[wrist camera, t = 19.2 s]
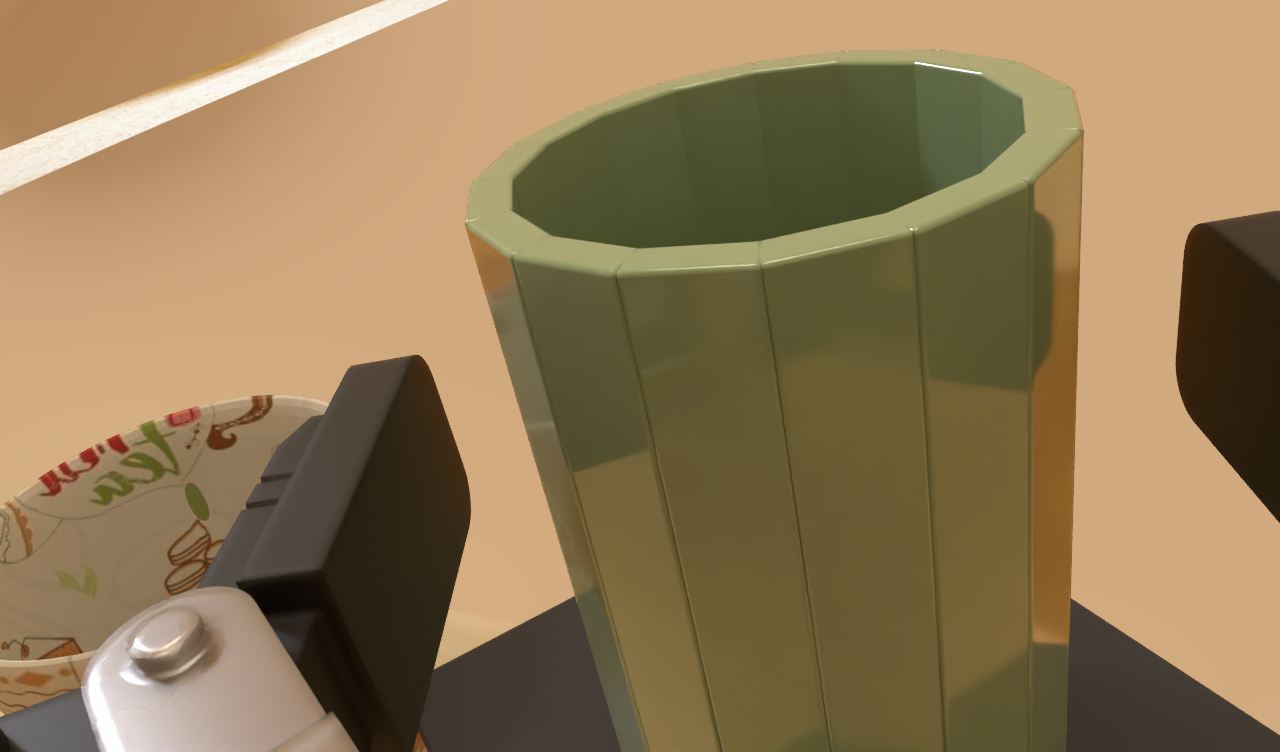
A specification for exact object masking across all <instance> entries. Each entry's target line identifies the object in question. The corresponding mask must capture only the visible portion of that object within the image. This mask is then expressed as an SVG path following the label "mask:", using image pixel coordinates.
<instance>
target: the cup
mask: <svg viewBox="0 0 1280 752" xmlns="http://www.w3.org/2000/svg"><path fill="white" fill-rule="evenodd" d="M1083 135H1084V130H1083V126H1082V122H1081V117H1080V113H1079V109H1078V104H1077V99H1076V95H1075V92H1074V90H1073V89H1071V88H1070V87H1069V86H1067V85H1065V84H1063V83H1061V82H1059V81H1057V80H1055V79H1053V78H1051V77H1049V76H1047V75H1045V74H1043V73H1041V72H1039V71H1037V70H1035V69H1033V68H1031V67H1029V66H1027V65H1025V64H1023V63H1020V62H1016V61H1011V60H1005V59H998V58H991V57H984V56H978V55H970V54H964V53H957V52H950V51H943V50H939V51H937V50H857V51H856V50H855V51H854V50H853V51H852V50H851V51H849V52H845V51H839V52H831V53H824V54H815V55H806V56H798V57H790V58H781V59H773V60H765V61H757V62H755V63H754V64H753V63H746V64H742V65H737V66H733V67H728V68H724V69H719V70H715V71H710V72H706V73H701V74H697V75H692V76H688V77H683V78H679V79H674V80H670V81H666V82H665V83H658V84H656V85H652V86H650V87H647V88H644V89H641V90H638V91H635V92H632V93H629V94H626V95H623V96H620V97H617V98H614V99H611V100H608V101H605V102H602V103H599V104H596V105H593V106H590V107H587V108H585V109H583V110H582V111H577V112H575V113H573V114H571V115H569V116H567V117H565V118H563V119H561V120H559V121H558V122H555V123H553V124H552V125H550V126H548V127H546V128H544V129H542V130H540V131H538V132H536V133H534V134H532V135H531V136H528V137H526V138H524V139H522V140H521V141H518V142H516V143H515V144H514V145H513V146H511V147H510V148H509V149H508V150H506V151H505V152H504V153H503V154H502V155H501V156H500V157H499V158H498V159H497V160H496V161H495V162H493V163H492V164H491V165H490V166H489V167H488V168H487V169H486V170H485V171H484V172H482V173H481V174H480V175H479V176H478V177H477V178H476V179H475V180H474V181H473V182H472V184H471V185H470V190H469V198H468V206H467V215H466V223H465V226H466V229H467V233H468V237H469V240H470V243H471V247H472V250H473V253H474V257H475V260H476V263H477V267H478V270H479V274H480V277H481V280H482V284H483V287H484V290H485V294H486V297H487V301H488V304H489V307H490V310H491V314H492V317H493V321H494V324H495V328H496V331H497V334H498V338H499V341H500V344H501V348H502V351H503V354H504V358H505V361H506V365H507V368H508V371H509V375H510V378H511V381H512V385H513V388H514V391H515V395H516V398H517V402H518V405H519V408H520V412H521V415H522V418H523V422H524V425H525V429H526V432H527V435H528V439H529V442H530V445H531V449H532V452H533V456H534V459H535V462H536V466H537V469H538V472H539V476H540V479H541V482H542V486H543V489H544V493H545V496H546V499H547V503H548V506H549V510H550V513H551V516H552V520H553V523H554V526H555V530H556V533H557V537H558V540H559V543H560V546H561V550H562V553H563V556H564V560H565V563H566V567H567V570H568V574H569V577H570V580H571V584H572V587H573V590H574V594H575V597H576V601H577V604H578V607H579V611H580V614H581V617H582V621H583V624H584V628H585V631H586V634H587V638H588V641H589V644H590V648H591V651H592V654H593V658H594V661H595V665H596V668H597V671H598V675H599V678H600V681H601V685H602V688H603V692H604V695H605V698H606V702H607V705H608V708H609V712H610V715H611V719H612V722H613V725H614V729H615V732H616V735H617V739H618V742H619V745H620V749H621V752H1066V745H1067V709H1068V674H1069V638H1070V602H1071V563H1072V529H1073V494H1074V491H1073V490H1074V458H1075V423H1076V422H1075V421H1076V387H1077V386H1076V385H1077V351H1078V348H1077V347H1078V315H1079V313H1078V312H1079V279H1080V242H1081V241H1080V240H1081V206H1082V170H1083Z"/></svg>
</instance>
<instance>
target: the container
mask: <svg viewBox="0 0 1280 752" xmlns="http://www.w3.org/2000/svg"><path fill="white" fill-rule="evenodd" d="M418 732H419V734H420V736H421V738H422V741H423V743H424V745H425V747H426V749H427V751H428V752H621V749H620V745H619V742H618V739H617V735H616V732H615V729H614V725H613V722H612V719H611V715H610V712H609V708H608V705H607V702H606V698H605V695H604V692H603V688H602V685H601V681H600V678H599V675H598V671H597V668H596V665H595V661H594V658H593V654H592V651H591V648H590V644H589V641H588V638H587V634H586V631H585V628H584V624H583V621H582V617H581V614H580V611H579V607H578V604H577V601H576V597H575V596H574V597H572V598H570V599H568V600H567V601H564V602H563V603H561V604H559V605H557V606H555V607H553V608H551V609H549V610H547V611H545V612H543V613H542V614H540V615H538V616H536V617H534V618H532V619H530V620H528V621H526V622H524V623H522V624H520V625H519V626H517V627H515V628H513V629H511V630H509V631H507V632H505V633H503V634H501V635H499V636H497V637H496V638H494V639H492V640H490V641H488V642H486V643H484V644H482V645H480V646H478V647H476V648H474V649H473V650H471V651H469V652H467V653H465V654H463V655H461V656H459V657H457V658H455V659H453V660H452V661H450V662H448V663H446V664H444V665H442V666H440V667H438V668H436V669H434V670H433V673H432V677H431V681H430V685H429V689H428V693H427V697H426V701H425V705H424V709H423V713H422V717H421V721H420V725H419V729H418ZM1066 752H1280V735H1278V734H1277V733H1275V732H1274V731H1272V730H1271V729H1269V728H1268V727H1266V726H1265V725H1263V724H1262V723H1260V722H1259V721H1257V720H1256V719H1254V718H1252V717H1251V716H1249V715H1248V714H1246V713H1245V712H1243V711H1242V710H1240V709H1239V708H1237V707H1236V706H1234V705H1233V704H1231V703H1230V702H1228V701H1227V700H1225V699H1224V698H1222V697H1220V696H1219V695H1217V694H1216V693H1214V692H1213V691H1211V690H1210V689H1208V688H1207V687H1205V686H1204V685H1202V684H1200V683H1199V682H1198V681H1196V680H1195V679H1193V678H1192V677H1190V676H1188V675H1187V674H1185V673H1184V672H1182V671H1181V670H1179V669H1178V668H1176V667H1175V666H1173V665H1172V664H1170V663H1168V662H1167V661H1166V660H1164V659H1163V658H1161V657H1160V656H1158V655H1156V654H1155V653H1153V652H1152V651H1150V650H1149V649H1147V648H1146V647H1144V646H1143V645H1141V644H1140V643H1138V642H1137V641H1135V640H1134V639H1132V638H1131V637H1129V636H1128V635H1126V634H1124V633H1123V632H1121V631H1120V630H1118V629H1117V628H1115V627H1114V626H1112V625H1111V624H1109V623H1108V622H1106V621H1105V620H1103V619H1102V618H1100V617H1099V616H1097V615H1095V614H1094V613H1092V612H1091V611H1089V610H1088V609H1086V608H1085V607H1083V606H1082V605H1080V604H1079V603H1077V602H1076V601H1074V600H1073V599H1071V602H1070V638H1069V674H1068V709H1067V745H1066Z"/></svg>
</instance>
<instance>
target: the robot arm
mask: <svg viewBox="0 0 1280 752" xmlns="http://www.w3.org/2000/svg"><path fill="white" fill-rule="evenodd" d="M1181 286H1182V287H1181V299H1180V313H1179V324H1178V338H1177V351H1176V375H1177V382H1178V387H1179V391H1180V395H1181V398H1182V400H1183V403H1184V405H1185V408H1186V410H1187V412H1188V414H1189V415H1190V417H1191V418H1192V420H1193V421H1194V422H1195V424H1196V425H1197V426H1198V427H1199V428H1200V430H1201V431H1202V432H1203V433H1204V434H1205V435H1206V437H1207V438H1208V439H1209V440H1210V441H1211V442H1212V444H1213V445H1214V446H1215V447H1216V448H1217V450H1218V451H1219V452H1220V453H1221V454H1222V455H1223V457H1224V458H1225V459H1226V460H1227V461H1228V463H1229V464H1230V465H1231V466H1232V467H1233V468H1234V470H1235V471H1236V472H1237V473H1238V474H1239V476H1240V477H1241V478H1242V479H1243V480H1244V481H1245V483H1246V484H1247V485H1248V486H1249V487H1250V489H1251V490H1252V491H1253V492H1254V493H1255V494H1256V496H1257V497H1258V498H1259V499H1260V500H1261V502H1262V503H1263V504H1264V505H1265V506H1266V507H1267V509H1268V510H1269V511H1270V512H1271V513H1272V514H1273V516H1274V517H1275V518H1276V519H1277V520H1278V522H1279V523H1280V211H1272V212H1267V213H1260V214H1255V215H1248V216H1243V217H1237V218H1231V219H1225V220H1219V221H1213V222H1207V223H1201V224H1198V225H1196V226H1194V228H1193V229H1192V230H1191V231H1190V233H1189V235H1188V238H1187V240H1186V244H1185V250H1184V260H1183V273H1182V285H1181ZM260 479H261V483H259V484H256V486H255V487H254V489H253V491H252V493H251V494H250V496H249V498H248V500H247V501H246V503H245V504H246V510H241V512H240V514H239V515H238V517H237V519H236V521H235V522H234V524H233V526H232V528H231V529H230V531H229V533H228V535H227V536H226V538H225V540H224V542H223V543H222V545H221V547H220V549H219V550H218V552H217V554H216V556H215V557H214V559H213V561H212V563H211V564H210V566H209V568H208V570H207V571H206V573H205V575H204V577H203V578H202V580H201V582H200V584H199V585H198V587H197V589H194V590H191V591H187V592H183V593H180V594H178V595H175V596H172V597H170V598H167V599H165V600H163V601H161V602H159V603H157V604H154V605H152V606H151V607H149V608H147V609H146V610H144V611H142V612H140V613H139V614H137V615H136V616H134V617H133V618H131V619H130V620H129V621H127V622H126V623H124V624H123V625H122V626H121V627H120V628H118V629H117V630H116V631H115V632H114V633H113V634H112V635H111V636H110V637H109V638H108V639H107V640H106V641H105V642H104V643H103V644H102V645H101V646H100V647H99V649H98V650H97V651H96V652H95V654H94V655H93V657H92V658H91V660H90V662H89V663H88V665H87V667H86V669H85V672H84V674H83V677H82V684H81V687H80V688H78V689H75V690H72V691H70V692H67V693H64V694H61V695H59V696H56V697H53V698H51V699H48V700H45V701H42V702H40V703H37V704H34V705H32V706H29V707H26V708H24V709H21V710H18V711H15V712H13V713H10V714H7V715H5V716H2V717H0V752H413V749H414V745H415V741H416V737H417V733H418V729H419V725H420V721H421V717H422V713H423V709H424V705H425V701H426V697H427V693H428V689H429V685H430V681H431V677H432V673H433V669H434V665H435V661H436V657H437V653H438V649H439V645H440V641H441V637H442V633H443V629H444V625H445V621H446V617H447V614H448V610H449V606H450V602H451V598H452V594H453V590H454V585H455V582H456V578H457V574H458V570H459V566H460V562H461V557H462V554H463V550H464V546H465V542H466V538H467V534H468V530H469V525H470V517H471V502H470V492H469V486H468V481H467V476H466V472H465V469H464V466H463V463H462V460H461V457H460V454H459V451H458V448H457V446H456V442H455V440H454V437H453V434H452V431H451V428H450V425H449V422H448V419H447V416H446V414H445V410H444V408H443V405H442V402H441V399H440V396H439V393H438V390H437V388H436V385H435V382H434V378H433V376H432V373H431V371H430V369H429V367H428V365H427V363H426V362H425V360H424V359H423V358H422V357H421V356H419V355H412V356H406V357H400V358H394V359H389V360H383V361H377V362H371V363H365V364H360V365H354V366H351V367H350V368H349V369H348V370H347V372H346V374H345V375H344V377H343V379H342V381H341V383H340V385H339V387H338V389H337V391H336V392H335V394H334V396H333V398H332V400H331V402H330V404H329V406H328V408H327V410H326V411H325V413H324V415H318V416H312V417H310V418H309V419H308V420H307V421H306V422H305V423H304V424H303V425H301V426H300V427H299V428H298V429H297V430H296V431H295V432H294V433H292V434H291V435H290V436H289V437H288V438H287V439H286V440H285V441H283V442H282V443H281V444H280V445H279V446H278V447H277V449H276V451H275V452H274V454H273V456H272V458H271V459H270V461H269V463H268V465H267V466H266V468H265V470H264V472H263V473H262V475H261V477H260Z"/></svg>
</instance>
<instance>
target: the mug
mask: <svg viewBox="0 0 1280 752" xmlns="http://www.w3.org/2000/svg"><path fill="white" fill-rule="evenodd" d="M328 406H329V403H326V402H323V401H319V400H316V399H312V398H307V397H301V396H291V395H263V396H250V397H242V398H235V399H229V400H224V401H218V402H214V403H210V404H205V405H201V406H197V407H193V408H190V409H186V410H183V411H179V412H176V413H173V414H170V415H167V416H164V417H161V418H158V419H155V420H153V421H150V422H147V423H144V424H142V425H140V426H137V427H135V428H132V429H130V430H127V431H125V432H122V433H120V434H118V435H116V436H114V437H112V438H110V439H107V440H105V441H103V442H101V443H99V444H97V445H95V446H93V447H91V448H89V449H87V450H85V451H84V452H81V453H80V454H78V455H76V456H74V457H72V458H71V459H69V460H67V461H65V462H64V463H62V464H60V465H59V466H57V467H56V468H54V469H52V470H51V471H49V472H48V473H46V474H44V475H43V476H41V477H40V478H38V479H37V480H36V481H34V482H33V483H31V484H30V485H28V486H27V487H25V488H24V489H22V490H21V491H20V492H18V493H17V494H16V495H15V496H13V497H12V498H11V499H10V500H8V501H7V502H6V503H5V504H3V505H2V506H1V507H0V710H1V711H2V712H3V713H4V714H5V715H7V714H10V713H13V712H15V711H18V710H21V709H24V708H26V707H29V706H32V705H34V704H37V703H40V702H42V701H45V700H48V699H51V698H53V697H56V696H59V695H61V694H64V693H67V692H70V691H72V690H75V689H78V688H80V687H81V684H82V677H83V674H84V672H85V669H86V667H87V665H88V663H89V662H90V660H91V658H92V657H93V655H94V654H95V652H96V651H97V650H98V649H99V647H100V646H101V645H102V644H103V643H104V642H105V641H106V640H107V639H108V638H109V637H110V636H111V635H112V634H113V633H114V632H115V631H116V630H117V629H118V628H120V627H121V626H122V625H123V624H124V623H126V622H127V621H129V620H130V619H131V618H133V617H134V616H136V615H137V614H139V613H140V612H142V611H144V610H146V609H147V608H149V607H151V606H152V605H154V604H157V603H159V602H161V601H163V600H165V599H167V598H170V597H172V596H175V595H178V594H180V593H183V592H187V591H191V590H194V589H197V587H198V585H199V584H200V582H201V580H202V578H203V577H204V575H205V573H206V571H207V570H208V568H209V566H210V564H211V563H212V561H213V559H214V557H215V556H216V554H217V552H218V550H219V549H220V547H221V545H222V543H223V542H224V540H225V538H226V536H227V535H228V533H229V531H230V529H231V528H232V526H233V524H234V522H235V521H236V519H237V517H238V515H239V514H240V512H241V510H246V504H245V503H246V501H247V500H248V498H249V496H250V494H251V493H252V491H253V489H254V487H255V486H256V484H259V483H261V479H260V477H261V475H262V473H263V472H264V470H265V468H266V466H267V465H268V463H269V461H270V459H271V458H272V456H273V454H274V452H275V451H276V449H277V447H278V446H279V445H280V444H281V443H282V442H283V441H285V440H286V439H287V438H288V437H289V436H290V435H291V434H292V433H294V432H295V431H296V430H297V429H298V428H299V427H300V426H301V425H303V424H304V423H305V422H306V421H307V420H308V419H309V418H310V417H312V416H318V415H324V413H325V411H326V410H327V408H328ZM413 752H428V751H427V749H426V747H425V745H424V743H423V741H422V738H421V736H420V734H419V732H418V733H417V737H416V741H415V745H414V749H413Z"/></svg>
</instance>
